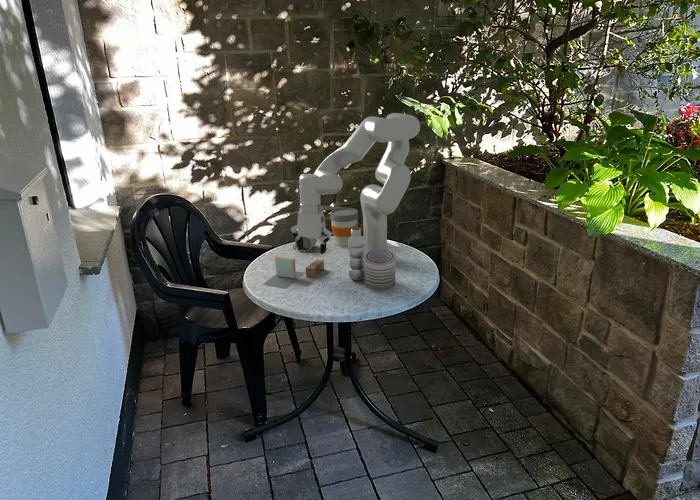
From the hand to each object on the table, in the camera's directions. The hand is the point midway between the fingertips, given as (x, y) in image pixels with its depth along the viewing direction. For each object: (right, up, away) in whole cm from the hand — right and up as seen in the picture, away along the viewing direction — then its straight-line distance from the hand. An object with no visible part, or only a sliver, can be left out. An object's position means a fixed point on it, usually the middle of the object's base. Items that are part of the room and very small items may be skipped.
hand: (311, 251), depth 188 cm
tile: (-10, -10, +1) cm, 14 cm away
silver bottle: (+17, -11, -1) cm, 21 cm away
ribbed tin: (+26, -13, -6) cm, 29 cm away
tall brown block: (0, -10, +1) cm, 11 cm away
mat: (-10, -11, 0) cm, 15 cm away
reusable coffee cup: (+13, +3, +35) cm, 37 cm away
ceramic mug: (-6, +1, +30) cm, 31 cm away
